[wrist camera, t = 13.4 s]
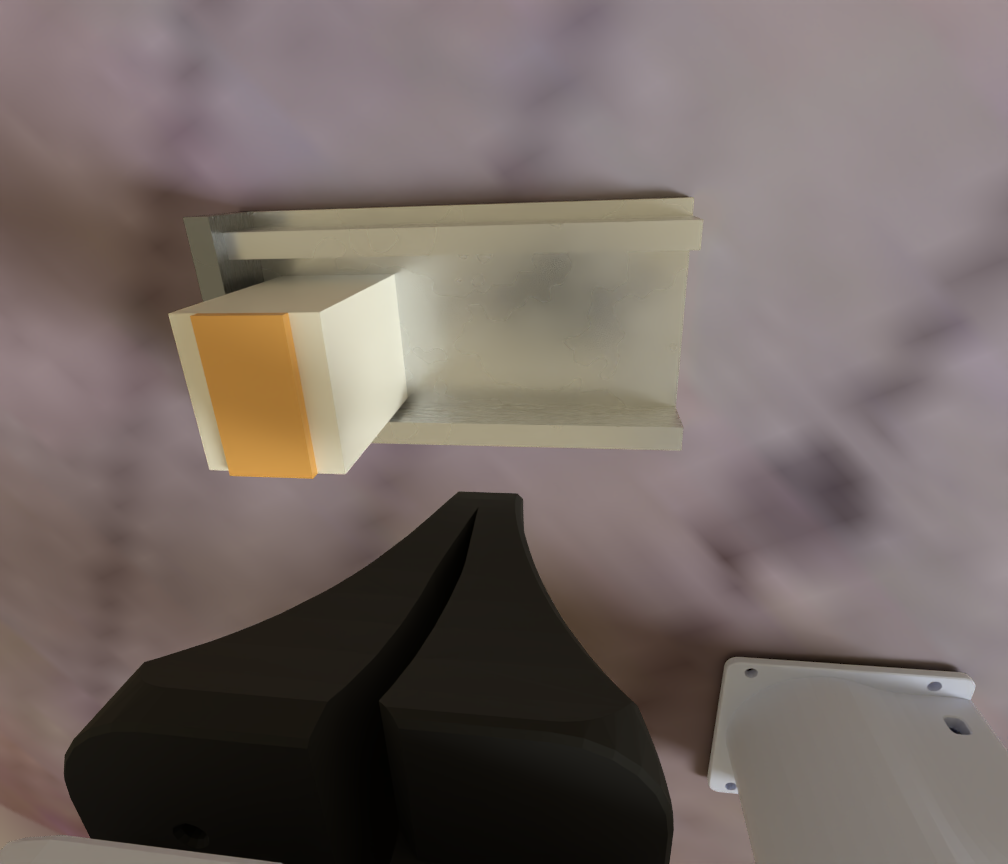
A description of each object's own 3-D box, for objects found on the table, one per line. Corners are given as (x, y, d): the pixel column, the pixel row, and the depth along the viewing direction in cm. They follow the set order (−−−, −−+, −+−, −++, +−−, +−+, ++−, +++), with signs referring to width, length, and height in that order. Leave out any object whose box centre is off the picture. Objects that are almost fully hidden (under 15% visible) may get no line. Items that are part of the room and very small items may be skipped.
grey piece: (691, 196, 18) (709, 201, 15) (670, 434, 21) (682, 473, 18) (238, 211, 20) (183, 217, 17) (282, 426, 23) (241, 460, 20)
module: (394, 274, 19) (314, 315, 14) (407, 397, 21) (341, 479, 16) (282, 275, 20) (159, 316, 14) (304, 396, 22) (203, 475, 16)
